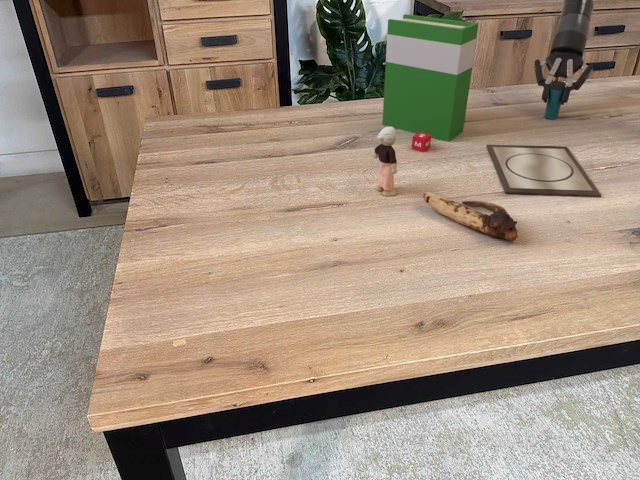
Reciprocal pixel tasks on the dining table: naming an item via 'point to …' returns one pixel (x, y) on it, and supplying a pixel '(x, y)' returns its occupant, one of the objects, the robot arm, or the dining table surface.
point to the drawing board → (540, 171)
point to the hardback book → (428, 75)
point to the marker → (554, 99)
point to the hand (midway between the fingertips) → (554, 102)
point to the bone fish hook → (475, 216)
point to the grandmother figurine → (386, 161)
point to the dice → (421, 142)
